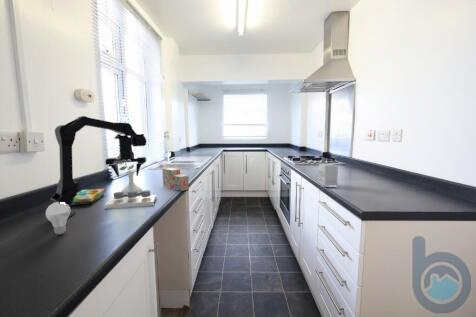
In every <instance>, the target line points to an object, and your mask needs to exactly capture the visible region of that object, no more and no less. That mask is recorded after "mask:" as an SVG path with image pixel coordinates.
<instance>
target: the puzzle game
mask: <svg viewBox="0 0 476 317" xmlns="http://www.w3.org/2000/svg"><path fill="white" fill-rule="evenodd" d="M106 191H107V190H106V188H93V189H92V188H91V189H81V190H79V192H78V191H77V195H76V196H75V197H74V198H73V201H72V203H71V206H72V205H87V204H88V205H89V204H94V203H95V202H96V201H97V200H98V199H100V198H101V197H103V196H104V195H105V194H106Z"/></svg>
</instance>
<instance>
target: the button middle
mask: <svg viewBox="0 0 476 317" xmlns="http://www.w3.org/2000/svg"><path fill="white" fill-rule="evenodd" d="M137 196H138V194H137V191H130V192H128V195H127V197H128V198H135V197H137Z"/></svg>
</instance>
